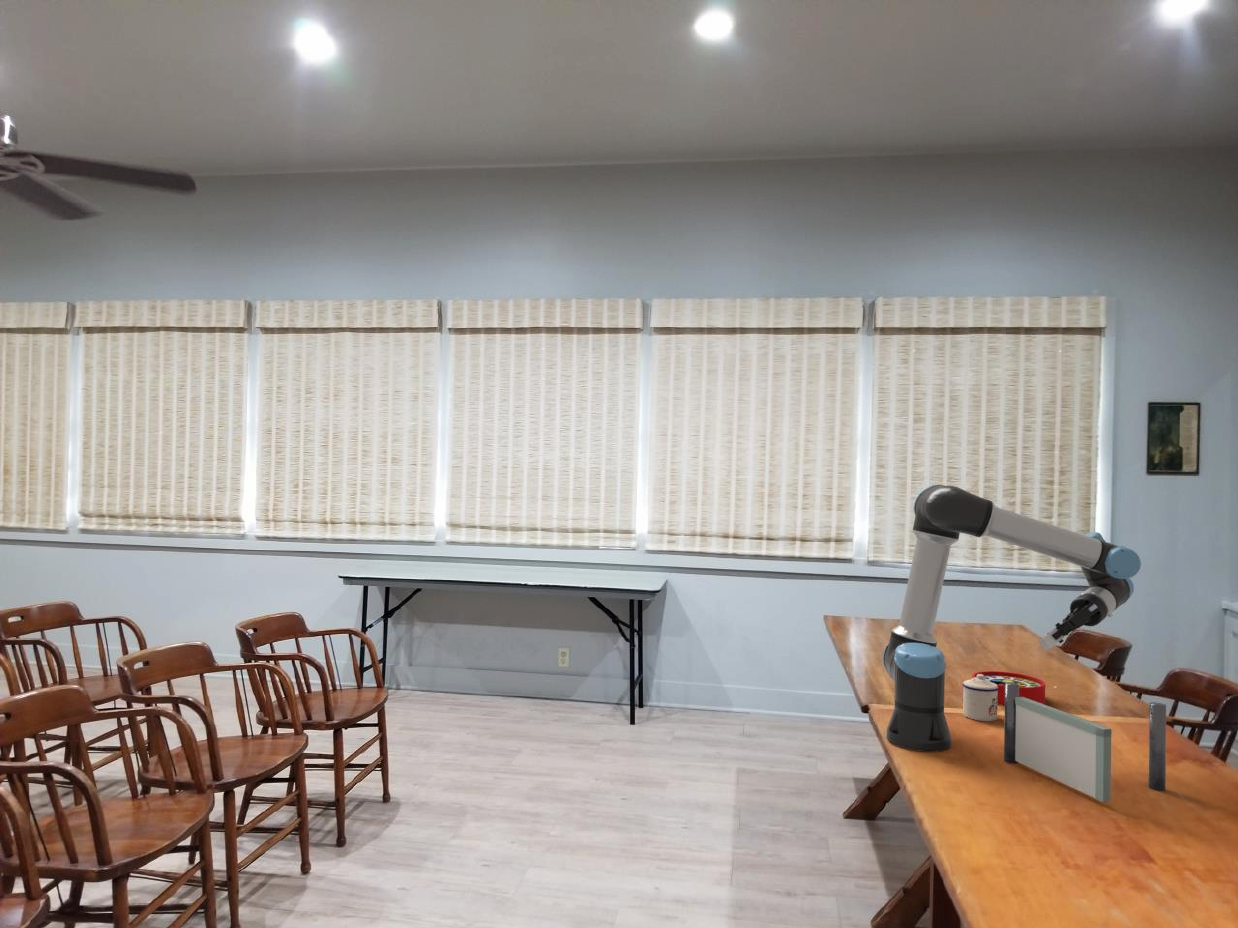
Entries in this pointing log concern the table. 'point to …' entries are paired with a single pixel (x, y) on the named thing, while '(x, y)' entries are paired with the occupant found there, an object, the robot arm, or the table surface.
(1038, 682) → the toy clock
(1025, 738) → the grey rectangular panel
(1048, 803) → the table surface
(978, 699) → the teacup with lid
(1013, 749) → the posts
